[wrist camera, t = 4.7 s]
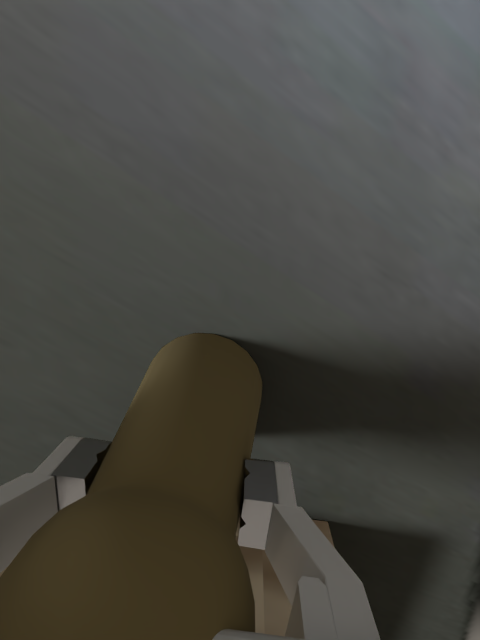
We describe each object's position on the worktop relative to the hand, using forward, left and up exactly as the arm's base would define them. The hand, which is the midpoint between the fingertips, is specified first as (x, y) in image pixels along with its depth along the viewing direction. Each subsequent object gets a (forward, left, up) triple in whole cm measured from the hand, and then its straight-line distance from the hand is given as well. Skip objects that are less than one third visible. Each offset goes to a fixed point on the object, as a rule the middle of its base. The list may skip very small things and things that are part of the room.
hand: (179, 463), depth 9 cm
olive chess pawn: (0, 0, -5) cm, 5 cm away
